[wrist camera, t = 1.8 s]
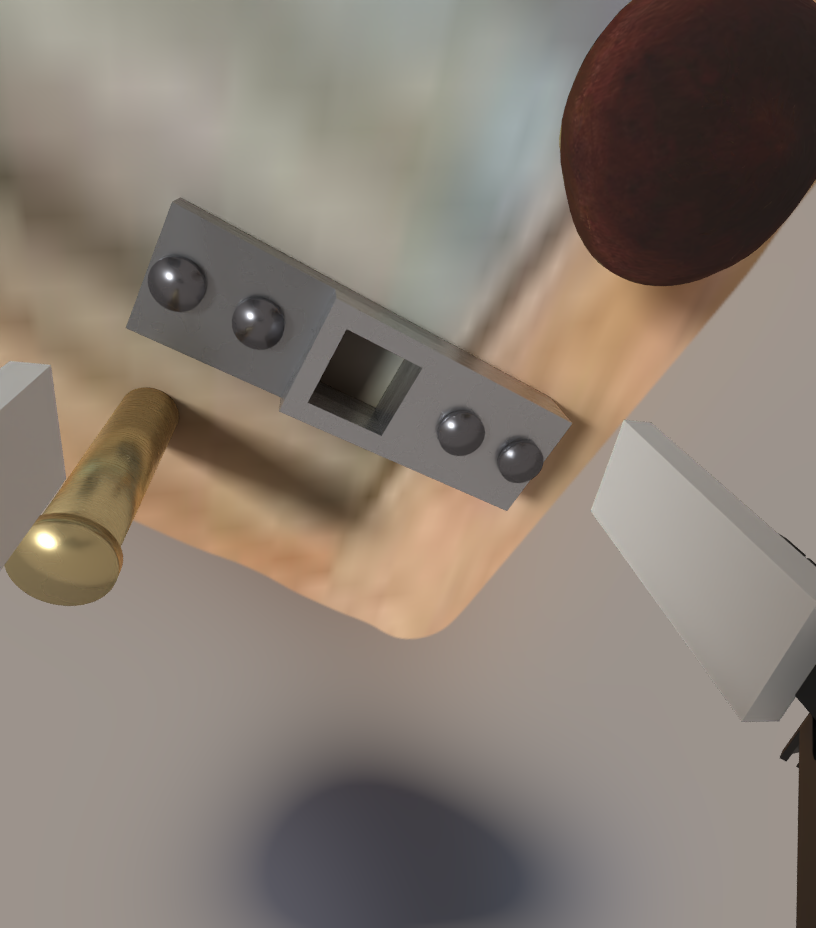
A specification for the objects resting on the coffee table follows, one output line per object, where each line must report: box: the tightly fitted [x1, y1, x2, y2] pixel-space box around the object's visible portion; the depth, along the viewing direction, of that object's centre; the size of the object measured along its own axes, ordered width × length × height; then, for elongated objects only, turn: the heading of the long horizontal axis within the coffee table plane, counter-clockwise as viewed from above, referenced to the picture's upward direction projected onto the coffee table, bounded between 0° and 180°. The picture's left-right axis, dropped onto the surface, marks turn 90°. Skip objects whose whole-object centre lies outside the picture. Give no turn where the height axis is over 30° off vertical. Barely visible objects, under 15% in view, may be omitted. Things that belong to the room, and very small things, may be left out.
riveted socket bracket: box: [126, 198, 572, 511], centre depth 35 cm, size 25×7×5 cm, turn 60°
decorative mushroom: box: [559, 0, 816, 286], centre depth 26 cm, size 11×11×15 cm
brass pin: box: [5, 388, 179, 606], centre depth 30 cm, size 4×4×15 cm
